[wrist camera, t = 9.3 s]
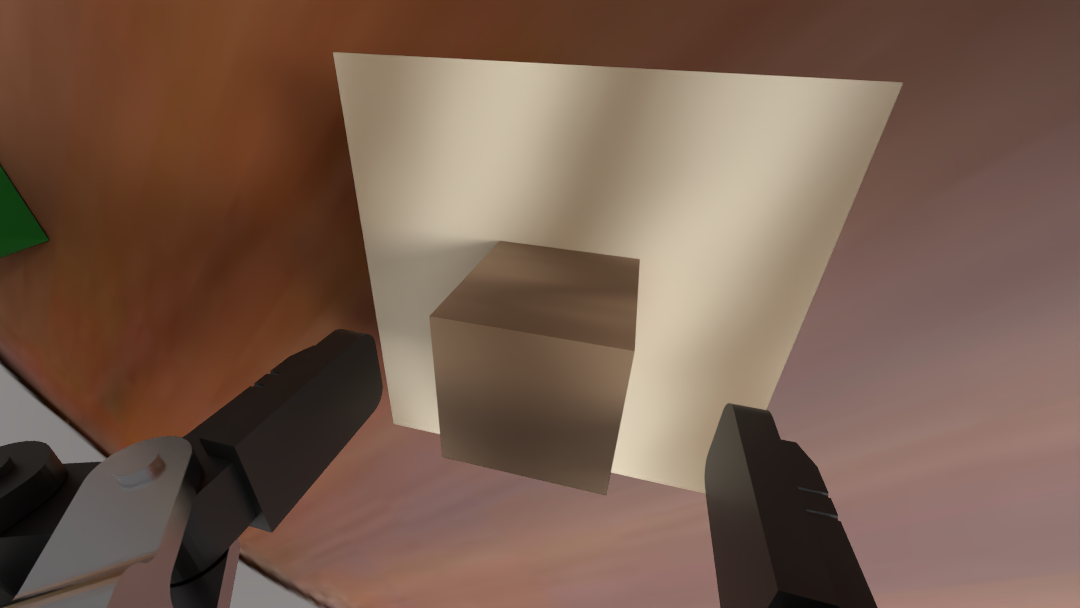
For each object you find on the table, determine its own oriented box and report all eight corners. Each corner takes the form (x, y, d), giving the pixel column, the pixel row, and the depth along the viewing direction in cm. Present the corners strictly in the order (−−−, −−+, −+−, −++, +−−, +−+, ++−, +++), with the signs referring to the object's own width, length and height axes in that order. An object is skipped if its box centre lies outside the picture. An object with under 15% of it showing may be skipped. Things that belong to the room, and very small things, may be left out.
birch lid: (879, 82, 9) (1120, 83, 4) (724, 475, 16) (757, 648, 11) (356, 54, 11) (152, 35, 7) (406, 407, 18) (318, 524, 13)
